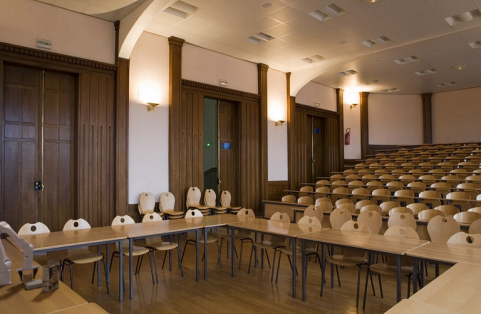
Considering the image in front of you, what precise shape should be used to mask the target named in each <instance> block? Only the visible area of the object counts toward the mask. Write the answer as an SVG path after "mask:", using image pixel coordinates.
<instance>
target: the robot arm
mask: <svg viewBox="0 0 481 314" xmlns="http://www.w3.org/2000/svg"><path fill="white" fill-rule="evenodd" d="M2 233H3V234H7V235H8V236H9V237H11V238H12V239H13V240H14V242H15V244H16V245H17V246H18V247H19V248H20V249H21V251H22V253H23V267H20V268H16V269H15V273H18V275H19V279H20V282H21V283H23V274H24V271H32V274H33V278H32V280H36V275H37V273H38V271H39V269H40V265H33V264H34V263H33V262H34V257H33V256H34V250H35V246H34V244H33V243H30V242H28V240H26V238H25V237H23V236H19V235H18V234H17V232H16V231H14V229H13V228H12V227H11V226H10V224H8V223H7V222H6V221H4V220H3V221H0V235H1V234H2ZM12 267H13V261H12V260H11V259H10V257H9V256H7V253H6V251H5V247H4V245H3V242H2V240H1V238H0V286H6V285H11V284H13V282H12V281H11V279H12V278H11V277H12V275H11V273H12V272H11V268H12Z"/></svg>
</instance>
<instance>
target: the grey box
mask: <svg viewBox="0 0 481 314" xmlns="http://www.w3.org/2000/svg"><path fill="white" fill-rule="evenodd" d="M24 287H25V288H26V289H27V290H34V289H36V288H42V279H41V278H39V279H32V281H28V282H25V284H24Z"/></svg>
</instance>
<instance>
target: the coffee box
mask: <svg viewBox="0 0 481 314" xmlns="http://www.w3.org/2000/svg"><path fill="white" fill-rule="evenodd" d="M41 275H42V276H41V277H42V279H41V280H42V287H41V292H48V293H51V292H52V291H53V290H56V289H58V288H59V287H60V263H59V264H56V263H51V264H48V265H45V266H43V267H42V273H41Z"/></svg>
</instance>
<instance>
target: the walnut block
mask: <svg viewBox="0 0 481 314" xmlns="http://www.w3.org/2000/svg"><path fill="white" fill-rule="evenodd" d="M22 279H23V281H22V283H23V285H25V282H28V281H33V272H28V273H27V272H26V273H23V276H22Z"/></svg>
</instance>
